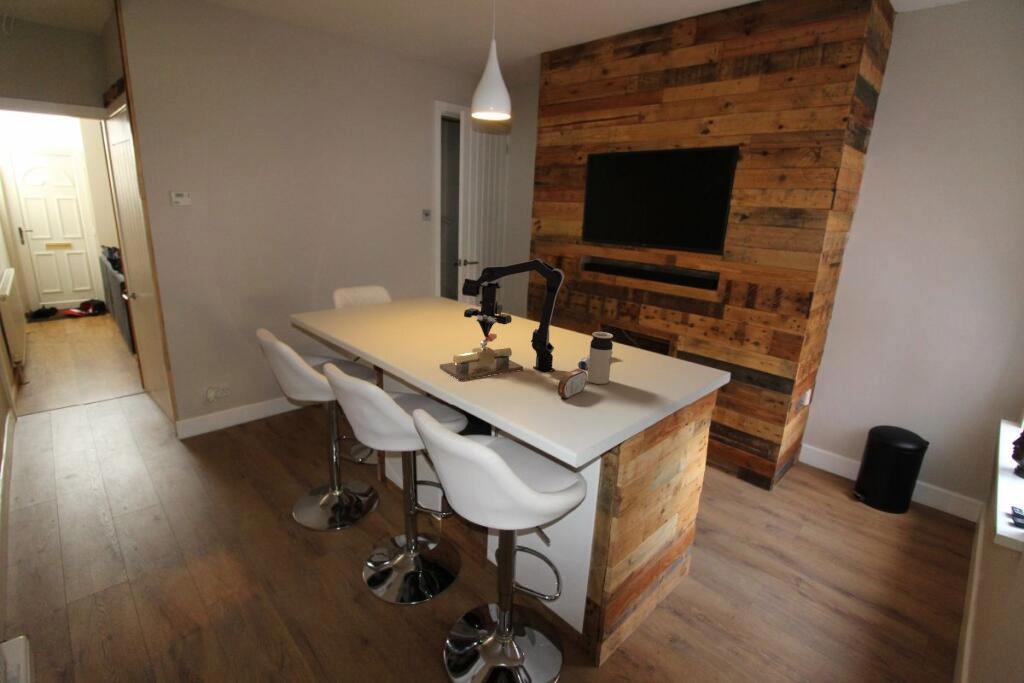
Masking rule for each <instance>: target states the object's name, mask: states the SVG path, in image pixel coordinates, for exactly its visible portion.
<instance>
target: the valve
mask: <svg viewBox="0 0 1024 683" xmlns="http://www.w3.org/2000/svg"><path fill="white" fill-rule="evenodd" d="M512 355H513V351H512V349H511V347H504V348H498V349H493V348H490V347H488V346H487V345H481V347H475V348H474V347H473V348H472V352H467V353H462V354H454V355H453V358H452V362H450V363H449V362H448V363H441V364H439V369H440V370H441V369H442V370H441V371H443V372H445V373H446V372H447V373H446V374H448V375H449V374H450V375H449V376H450V377H452V376H453V377H452V378H454V377H455V378H456V380H457V379H458V380H459V381H458V380H457V381H458V382H461V381H460V380H462V381H466V380H465V379H468V380H471V379H470V378H474V379H478V378H477V377H480V378H484V377H483V376H486V377H489V376H488V375H491V376H495V375H494V374H497V375H501V374H500V373H503V374H507V373H506V372H509V373H512V372H511V371H515V372H518V371H517V370H521V371H523V370H524V366H523V365H521V364H519V363H517V362H515V361H513V360H511V359H510V358H511V357H512ZM455 378H454V379H455Z"/></svg>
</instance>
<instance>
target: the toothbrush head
mask: <svg viewBox="0 0 1024 683" xmlns="http://www.w3.org/2000/svg"><path fill="white" fill-rule="evenodd" d="M577 365H578V366H577V367H578V369H580V370H583V369H584V370H587V369H588V365H589V355H588V356H586V357H585V356H584V357H583V358H581V360H580V361H579V362H577ZM584 370H583V371H584Z"/></svg>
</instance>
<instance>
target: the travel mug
mask: <svg viewBox="0 0 1024 683" xmlns="http://www.w3.org/2000/svg"><path fill="white" fill-rule="evenodd" d="M591 335H592V339H591V341H590V346H589V355H588V356H589V365H588V368H587V379H586V381H588V382H589V383H592V384H594V385H606V384H608V383H610V382H609V381H610V372H611V364H612V355H613V345H614V344H613V341H612V339H613V337H614V336H613V334H612V333H609V332H604V331H595V332H593V333H591Z"/></svg>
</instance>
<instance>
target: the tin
mask: <svg viewBox="0 0 1024 683" xmlns="http://www.w3.org/2000/svg"><path fill="white" fill-rule="evenodd" d="M587 376H588V373H587V372H586V371H584V370H583V369H580V368H576V369H573V370H570V371H569V372H566V373H564V374H563V375H562V376H561V377H560V378H559V381H558V384H557V395H558V396H559V397H561V398H565V399H569V398H571V397H574V396H575V395H578V394H580V393H582V391H583V390H584V388H585V387H586V384H587Z"/></svg>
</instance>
